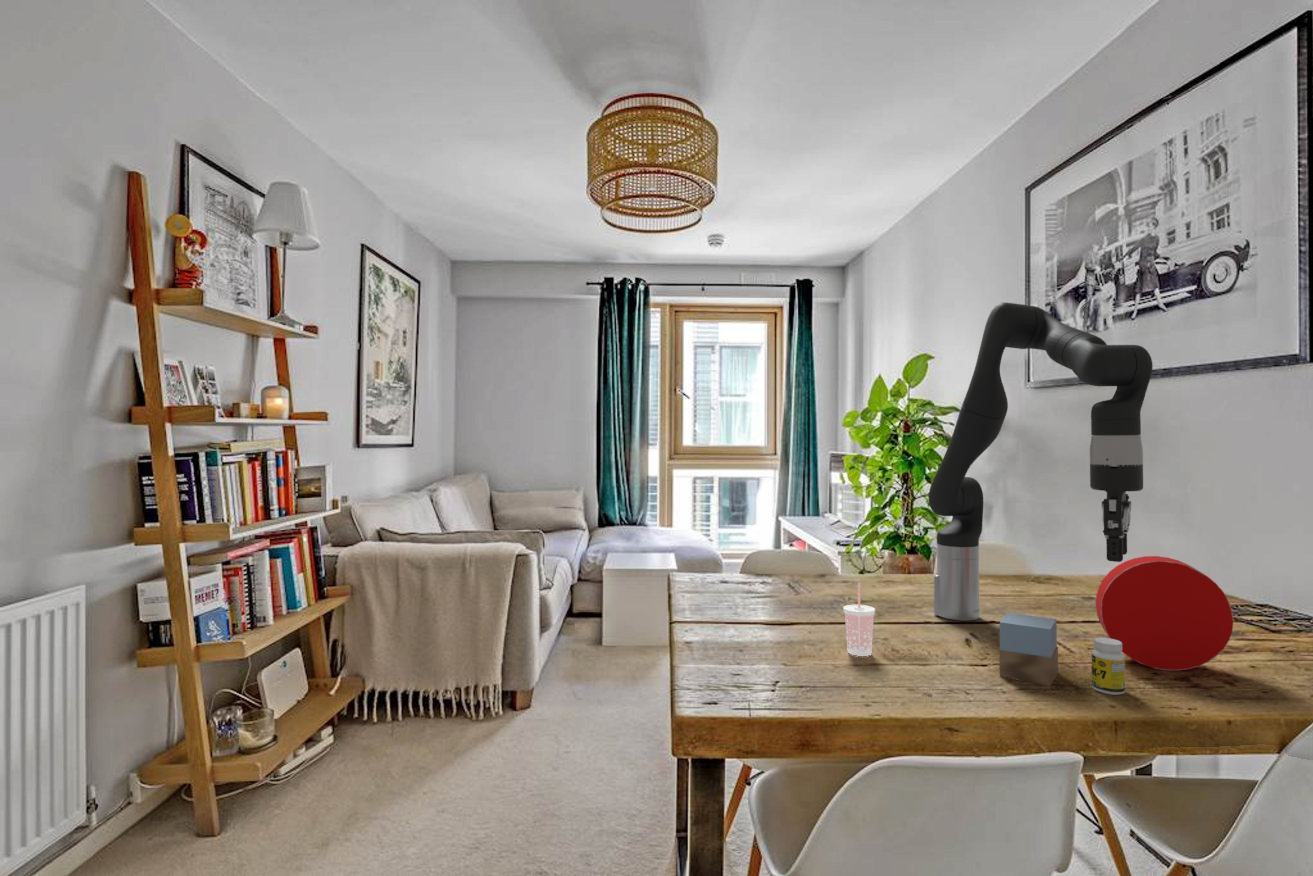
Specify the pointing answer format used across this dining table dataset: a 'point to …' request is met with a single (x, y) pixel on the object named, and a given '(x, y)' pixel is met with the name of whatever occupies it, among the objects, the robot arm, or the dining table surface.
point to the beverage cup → (859, 628)
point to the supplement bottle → (1108, 666)
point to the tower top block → (1028, 634)
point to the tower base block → (1029, 667)
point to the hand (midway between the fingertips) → (1117, 557)
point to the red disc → (1164, 613)
